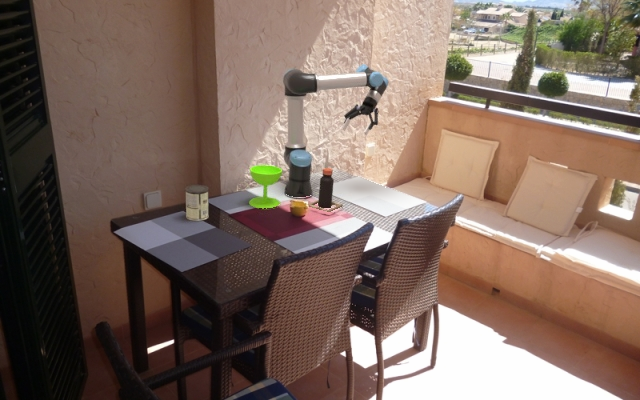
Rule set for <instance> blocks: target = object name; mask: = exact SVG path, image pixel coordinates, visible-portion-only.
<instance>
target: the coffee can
mask: <svg viewBox="0 0 640 400" xmlns="http://www.w3.org/2000/svg"><path fill="white" fill-rule="evenodd" d="M209 189H210V188H209V187H208V186H207V185H203V184H191V185H188V186H186V187H185V209H186V210H185V211H186V212H185V213H186V214H185V217H186V219H187V220H189V221H194V222H201V221H205V220H207V219H209Z"/></svg>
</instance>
